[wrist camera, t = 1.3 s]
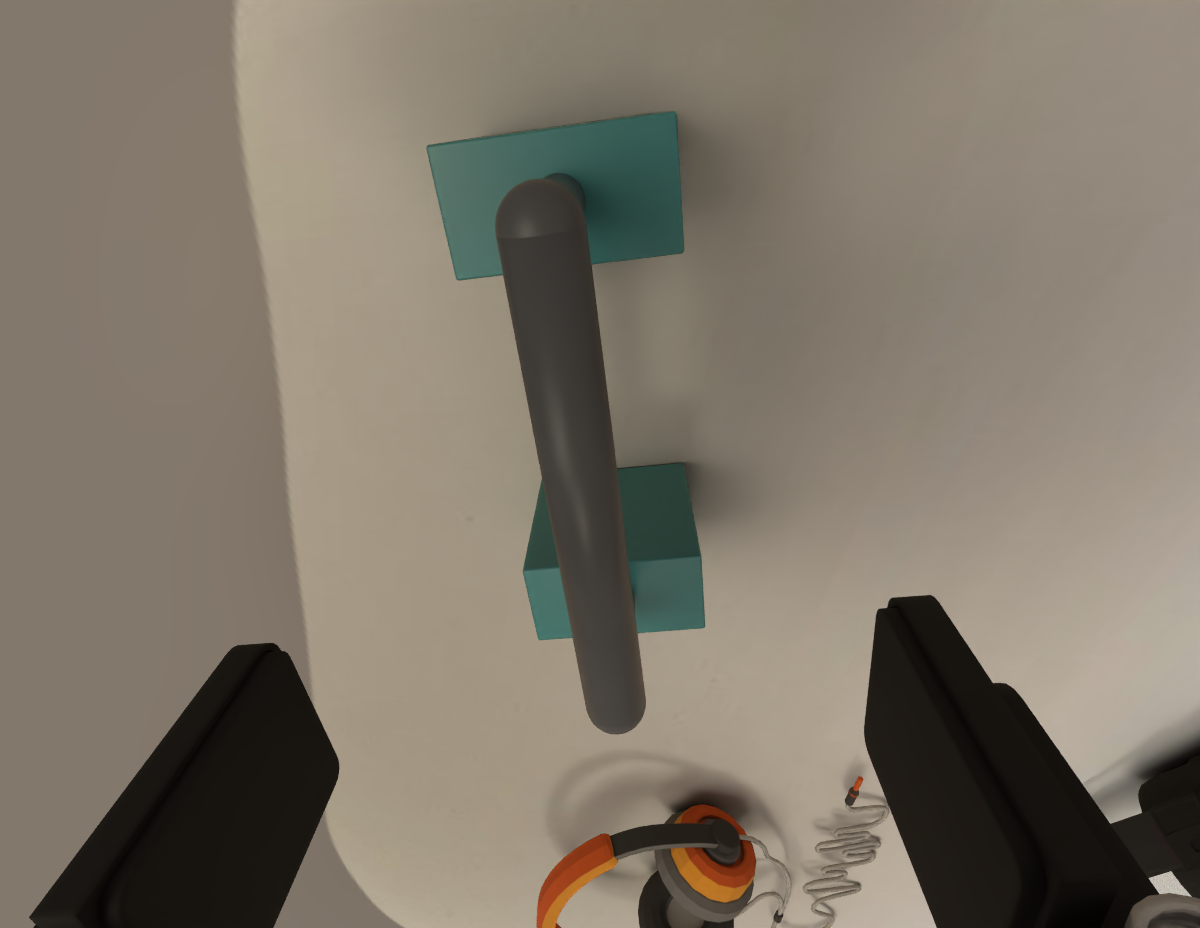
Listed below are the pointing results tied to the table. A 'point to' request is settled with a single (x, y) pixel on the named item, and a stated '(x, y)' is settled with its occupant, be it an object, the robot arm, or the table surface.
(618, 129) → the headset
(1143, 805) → the virtual reality headset
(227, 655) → the robot arm
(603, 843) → the headphones
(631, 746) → the table surface
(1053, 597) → the table surface
